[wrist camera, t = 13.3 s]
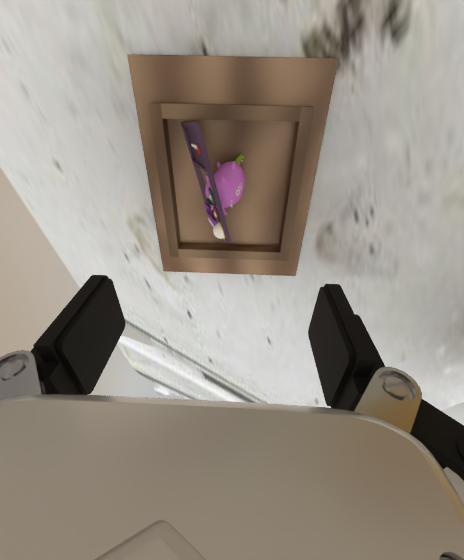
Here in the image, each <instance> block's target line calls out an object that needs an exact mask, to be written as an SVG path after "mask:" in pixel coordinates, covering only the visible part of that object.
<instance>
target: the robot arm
mask: <svg viewBox="0 0 464 560" xmlns="http://www.w3.org/2000/svg"><path fill="white" fill-rule="evenodd" d="M124 328H125V319H124V316H123V313H122V310H121V307H120V304H119V300H118V297H117V294H116V291H115V288H114V285H113V281H112V280H111V279H109V278H108V277H107V276H106V275H92V276H91V277H90V278H89V279H88V280H87V282H86V283H85V284H84V285H83V286H82V288H81V289H80V290H79V291H78V292H77V294H76V295H75V296H74V297H73V299H72V300H71V301H70V302H69V303H68V305H67V306H66V307H65V308H64V309H63V310H62V312H61V313H60V314H59V315H58V316H57V318H56V319H55V320H54V321H53V322H52V324H51V325H50V326H49V327H48V329H47V330H46V331H45V332H44V333H43V334H42V336H41V337H40V338H39V339H38V340H37V342H36V343H35V344H34V345H33V346H34V348H33V349H32V350H31V352H29V351H25V350H21V351H15V352H12V353H8V354H6V355H4V356H2V357H0V560H464V426H463V425H462V424H460V423H459V422H457V421H456V420H454V419H452V418H451V417H449V416H448V415H446V414H444V413H443V412H442V411H440V410H439V409H437V408H435V407H434V406H432V405H431V404H429V403H428V402H426V401H425V400H423V399H422V392H421V389H420V387H419V386H418V384H417V383H416V381H415V380H414V379H413V378H412V377H411V376H409V375H408V374H406V373H405V372H403V371H401V370H399V369H396V368H392V367H385V365H384V363H383V361H382V359H381V357H380V355H379V353H378V351H377V349H376V347H375V345H374V344H373V342H372V340H371V338H370V336H369V334H368V332H367V330H366V328H365V326H364V324H363V322H362V320H361V318H360V317H359V316H358V315H354V312H353V310H352V308H351V306H350V304H349V302H348V300H347V298H346V296H345V294H344V292H343V290H342V288H341V286H340V285H339V284H325V286H324V287H321V288H320V290H319V293H318V297H317V301H316V304H315V308H314V312H313V315H312V319H311V322H310V326H309V331H308V335H309V340H310V343H311V347H312V351H313V355H314V359H315V363H316V367H317V371H318V374H319V378H320V382H321V386H322V390H323V394H324V398H325V401H326V404H327V406H331V408H325V407H311V406H297V405H282V404H264V403H245V402H227V401H207V400H187V399H165V398H144V397H122V396H99V395H87V394H90V393H91V392H92V391H93V389H94V387H95V385H96V383H97V381H98V379H99V377H100V376H101V373H102V372H103V369H104V368H105V366H106V364H107V362H108V360H109V358H110V356H111V354H112V352H113V350H114V348H115V346H116V344H117V342H118V340H119V338H120V336H121V334H122V332H123V330H124Z"/></svg>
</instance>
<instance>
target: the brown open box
mask: <svg viewBox="0 0 464 560" xmlns="http://www.w3.org/2000/svg"><path fill="white" fill-rule="evenodd" d="M127 55H128V54H127ZM338 59H339V58H288V57H235V56H181V55H128V61H129V67H130V73H131V79H132V85H133V91H134V97H135V103H136V109H137V115H138V121H139V127H140V133H141V139H142V145H143V151H144V157H145V163H146V169H147V174H148V180H149V186H150V192H151V198H152V204H153V210H154V216H155V222H156V228H157V234H158V240H159V246H160V252H161V258H162V264H163V270H164V271H173V272H201V273H229V274H257V275H285V276H296V271H297V265H298V260H299V255H300V250H301V245H302V240H303V235H304V230H305V225H306V220H307V215H308V210H309V205H310V200H311V195H312V190H313V185H314V180H315V175H316V170H317V165H318V160H319V154H320V149H321V144H322V139H323V134H324V129H325V124H326V119H327V114H328V109H329V104H330V99H331V94H332V89H333V84H334V79H335V74H336V69H337V64H338ZM182 122H199V123H200V127H201V130H202V134H203V138H204V142H205V145H206V149H207V153H208V157H209V160H210V164H211V168H212V172H213V175H214V174H215V172H216V171H217V170H218V168H217V162H219V163H220V164H221V165H222V164H224V163H226V162H229V161H232V162H233V161H234V160H235V159H236V158H237V157H238V156H239V155H240V154H243V156H244V159H243V158H242V160H243V161H242V162H241V161H240V164H239V165H240V167H241V168H242V170H243V172H244V176H245V186H244V190H243V193H242V196H241V198H240V199H239V200H238V202H237V203H235V204H234V205H232V207H231V206H230V207H227V208H225V211H226V212H227V214H228V215H225V214H224V216H225V220H226V224H227V228H228V231H229V235H230V239H231V242H230V243H226V242H225V240H224V239H223V238H222V239H219V238H217V237H216V236H215V235H214V233H213V229H214V228H213V226H212V224H211V223H210V222H209V220H208V214H207V211H206V207H205V204H204V203H205V201H204V198H203V195H202V192H201V188H200V185H199V182H198V178H197V175H196V172H195V169H194V165H193V162H192V159H191V155H190V152H189V149H188V146H187V142H186V139H185V136H184V132H183V129H182V126H181V123H182ZM199 170H200V173H201V177H202V180H203V183H204V187H205V189H206V185H207V180H206V177H205V176H208V175H207V173H206V172H204V171H203V170H202V169H201V168H199ZM210 207H212V205H210ZM212 214H213V217H214V218H215V219H216V220H217V218H216V217H215V215H214V209H213V210H212ZM217 222H218V220H217ZM220 224H221V221H220Z"/></svg>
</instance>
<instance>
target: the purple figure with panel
mask: <svg viewBox="0 0 464 560" xmlns="http://www.w3.org/2000/svg"><path fill="white" fill-rule="evenodd" d="M181 126H182V129H183V132H184V136H185V139H186V142H187V146H188V149H189V152H190V155H191V159H192V162H193V165H194V169H195V172H196V175H197V178H198V182H199V185H200V188H201V192H202V195H203V198H204V201H205V203H204V204H205V207H206V211H207V214H208V220H209V222H210V223H211V224H212V226H213V228H214V229H213V233H214V235H215V236H216V237H217V238H219V239H222V238H223V239H224V240H225V242H226V243H230V242H231V239H230V235H229V231H228V228H227V224H226V220H225V216H224V214H225V215H228V214H227V212H226V211H225V208H227V207H230V206H231V207H232V205H234V204H235V203H237V202H238V200H239V199H240V198H241V196H242V193H243V190H244V186H245V176H244V172H243V170H242V168H241V167H240V165H239V164H240V161H241V162H242V161H243V160H242V158H243V159H244V156H243V154H240V155H239V156H238V157H237V158H236V159H235V160H234V161H233V162H232V161H229V162H226V163H224V164H222V165H221V164H220V163H219V162H217V168H218V170H217V171H216V172H215V174H214V175H213V172H212V168H211V164H210V160H209V157H208V153H207V149H206V145H205V142H204V138H203V134H202V130H201V127H200V123H199V122H182V123H181ZM199 168H201V169H202V170H203V171H204V172H206V173H207V175H208V176H205V177H206V180H207V185H206V189H205V187H204V183H203V180H202V177H201V173H200V170H199ZM210 205H212V207H210ZM213 209H214V215H215V217H216V218H217V220H218V222H217V220H216V219H215V218H214V217H213V214H212V210H213ZM220 221H221V224H220Z"/></svg>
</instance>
